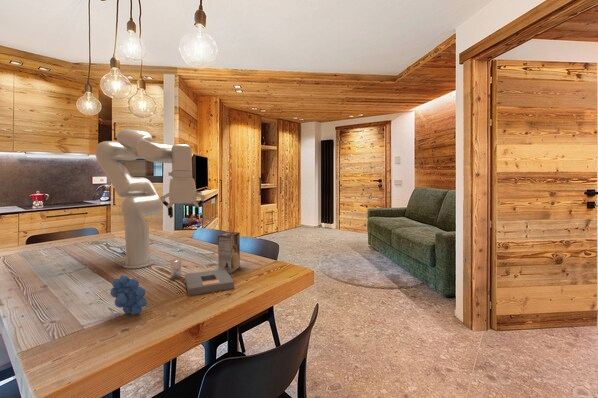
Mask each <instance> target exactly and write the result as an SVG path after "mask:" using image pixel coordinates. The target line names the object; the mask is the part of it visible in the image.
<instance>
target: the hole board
mask: <svg viewBox="0 0 598 398" xmlns="http://www.w3.org/2000/svg"><path fill="white" fill-rule="evenodd" d="M184 282H185V286H186V290H187V294H188V296H196V295H200V294H207V293H213V292H219V291H226V290H227V291H228V290H231V289H232V290H234V289H235V281H234V279H233V277H232V276H231V275H230V274H229V273H228V272H227V270H226V269H220V270H219V269H214V270H213V269H212V270H205V271H197V272H191V273H185V274H184Z"/></svg>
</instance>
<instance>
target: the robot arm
mask: <svg viewBox="0 0 598 398" xmlns="http://www.w3.org/2000/svg"><path fill="white" fill-rule="evenodd" d="M116 140H117V141H113V140H106V141H105V140H104V141H102V142H98V144H97V145H96V147H95V158H96V160H97V163H98V165H99V166H100V168H101V169H102V170H103V172H104V173H105V174H106V176H107V177H108V179H109V181H110V183H111V185H112V187H113V188H114V191H115V192H116V194H117V195H118V196H119V197H120V198H124V199H123V201H122V202H121V206H120V207H121V208H120V209H121V213H122V216H123V221H124V233H125V234H124V237H125V256H123V257H115V258H114V263H117V264H118V263H119V264H121V263H122V268H124V269H129V270H130V269H141V268H146V267H149V266H152V265H153V264H154V261H155V260H154V259H153V258H151V256H150V255H151V254H150V253H151V252H150V228H149V224H148V222H147V221H146V219H145V218H144V217H149V216H155V215H159V214H160V213H162V211H163V207H164V206H165V207H166V208H167V216H169V218H170V219H171V218H173V217H174V211H173V210H174V208H173V205H174V204H193V205H194V206H195V207H194V217H195V218H197V217H198V215H200V206H201V205H202V204H203V203H204V201H205V200H206V196H205V195H204V194H202V193H199V192H197V188H196V182H195V178H193V158H192V153H193V152H192V146H190V145H189V144H184V143H183V144H181V143H180V144H179V143H177V144H172V145H171V144H164V143H156V142H155V141H154V139H153V137H152V135H151V134H150V133H149V132H148V131H143V130H138V129H137V130H136V129H131V128H130V129H129V128H124V129H122V130H119V132H117V134H116ZM139 158H141V159H143V160H146V161H148V162H151V163H156V164H157V163H159V164H163V163H164V164H171V166H172V168H171V171H170V172H167V173H168V176H169V177H172V178H170V180H169V187H168V193H166V194H164V195H162V196H160V195H159V193H158V192H157V189H156V188H155V186H154V184H153V183H152V181H151V180H149V179H148V178H147V177H142V176H141V177H140V176H139V177H138V176H132V175H131V174H130V172H129V170H128V168H127V167H126V166H125V165H123V163H121V162H120V161H135V160H137V159H139ZM197 197H198V198H200V201H198V202H197V199H198V198H197ZM167 198H168V201H169V202H168V201H167V200H166V199H167Z"/></svg>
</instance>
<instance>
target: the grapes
mask: <svg viewBox="0 0 598 398" xmlns="http://www.w3.org/2000/svg"><path fill="white" fill-rule="evenodd" d="M111 285H112V288H111V290H110V296H111V297H113V298H115V299H114V305H115V306H116V307H117V308H121V309H122V311H123V312H124V313H125V314H127V315H130V314H132V313H133V314H135V315H138V314H140V313H142V310H143V308H145V307H146V305H147V303H148V301H147V299H146V298H145V296H146V290H145V288H144V287H143V286H139V285H140V282H139V281H138V279H137V278H133V277H132V278H130V277H129V276H128V275H126V274H123V275H120V277H119V278H114V279H113V280H112V283H111Z"/></svg>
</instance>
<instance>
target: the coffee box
mask: <svg viewBox="0 0 598 398" xmlns="http://www.w3.org/2000/svg"><path fill="white" fill-rule="evenodd" d="M240 234H241V233H240V232H234V231H226V232H224V233H221V234H219V235H218V236H217V254H218V255H217V257H218V262H217V264H218V265H217V266H218V270H220V269H226V270H227V272H228V273H231V274H232V273H233V272H235V271H236V270H237V269H239V267H240V266H241V259H240V258H241V257H240V255H241V253H240V250H241V249H240V248H241V244H240V243H241V242H240V240H241V239H240Z"/></svg>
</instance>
